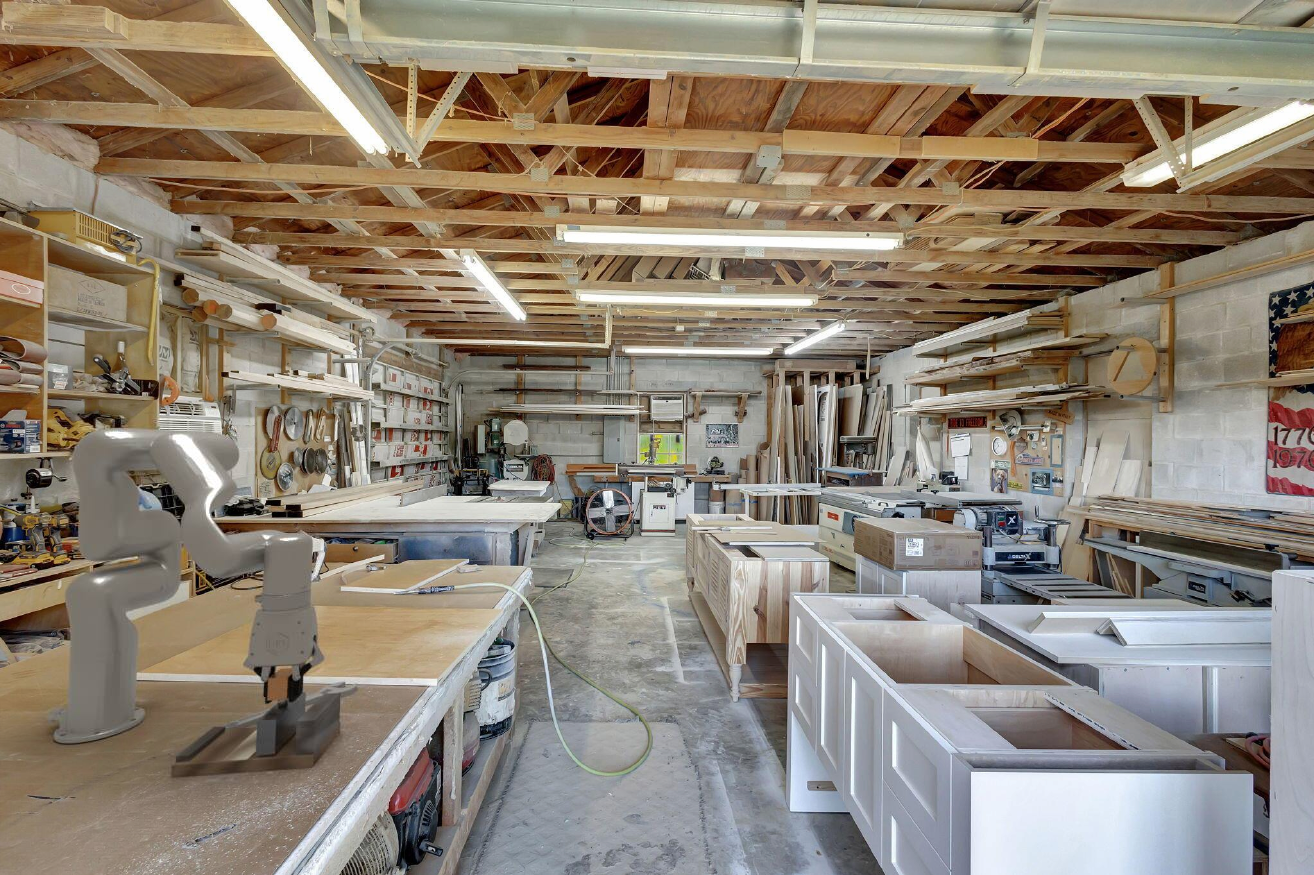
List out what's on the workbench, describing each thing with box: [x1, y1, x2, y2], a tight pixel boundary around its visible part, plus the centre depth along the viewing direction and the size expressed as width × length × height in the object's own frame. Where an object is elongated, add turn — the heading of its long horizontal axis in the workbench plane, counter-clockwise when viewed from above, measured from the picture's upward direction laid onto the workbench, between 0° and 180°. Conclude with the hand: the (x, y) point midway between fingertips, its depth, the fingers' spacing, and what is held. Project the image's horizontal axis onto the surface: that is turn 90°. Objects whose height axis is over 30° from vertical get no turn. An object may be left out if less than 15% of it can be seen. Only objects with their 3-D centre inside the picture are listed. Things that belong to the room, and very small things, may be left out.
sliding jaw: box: [256, 667, 307, 755], centre depth 100 cm, size 3×11×12 cm, turn 10°
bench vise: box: [170, 693, 342, 778], centre depth 99 cm, size 22×12×8 cm, turn 100°
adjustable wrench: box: [223, 681, 358, 729], centre depth 117 cm, size 25×6×2 cm, turn 142°
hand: (283, 698), depth 100 cm, fingers closed on sliding jaw, 3 cm apart
